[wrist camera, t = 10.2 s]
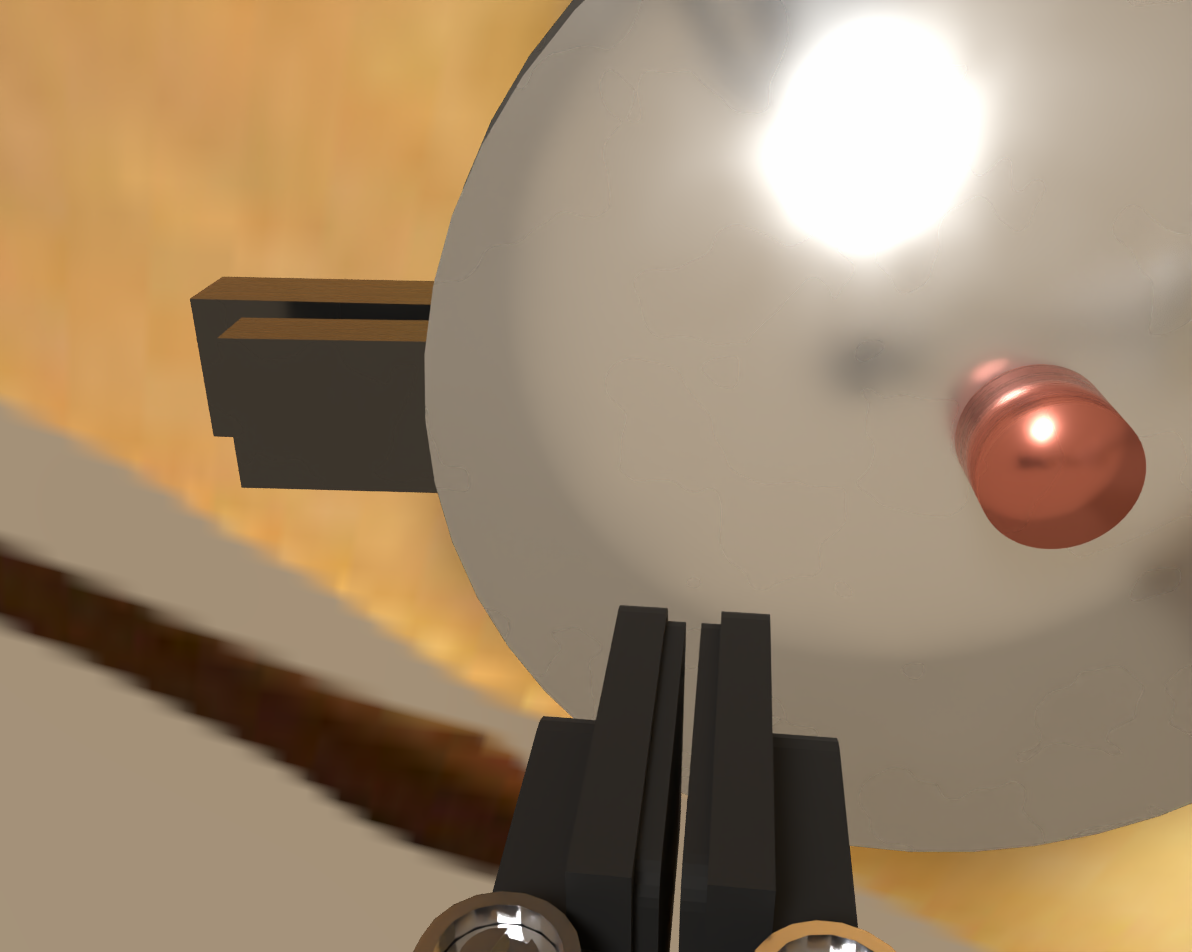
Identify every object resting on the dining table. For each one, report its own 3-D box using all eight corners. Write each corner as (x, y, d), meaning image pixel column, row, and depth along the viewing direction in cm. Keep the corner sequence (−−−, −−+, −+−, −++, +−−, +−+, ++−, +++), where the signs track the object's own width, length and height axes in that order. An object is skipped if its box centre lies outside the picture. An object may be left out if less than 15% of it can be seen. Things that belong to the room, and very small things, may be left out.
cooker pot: (1396, -177, 25) (1768, -238, 16) (1194, 594, 34) (1362, 834, 25) (305, -155, 27) (98, -197, 18) (381, 555, 36) (265, 760, 27)
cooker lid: (1752, -221, 16) (1977, -254, 13) (1357, 831, 24) (1442, 946, 22) (164, -190, 18) (65, -212, 15) (313, 781, 26) (268, 882, 23)
